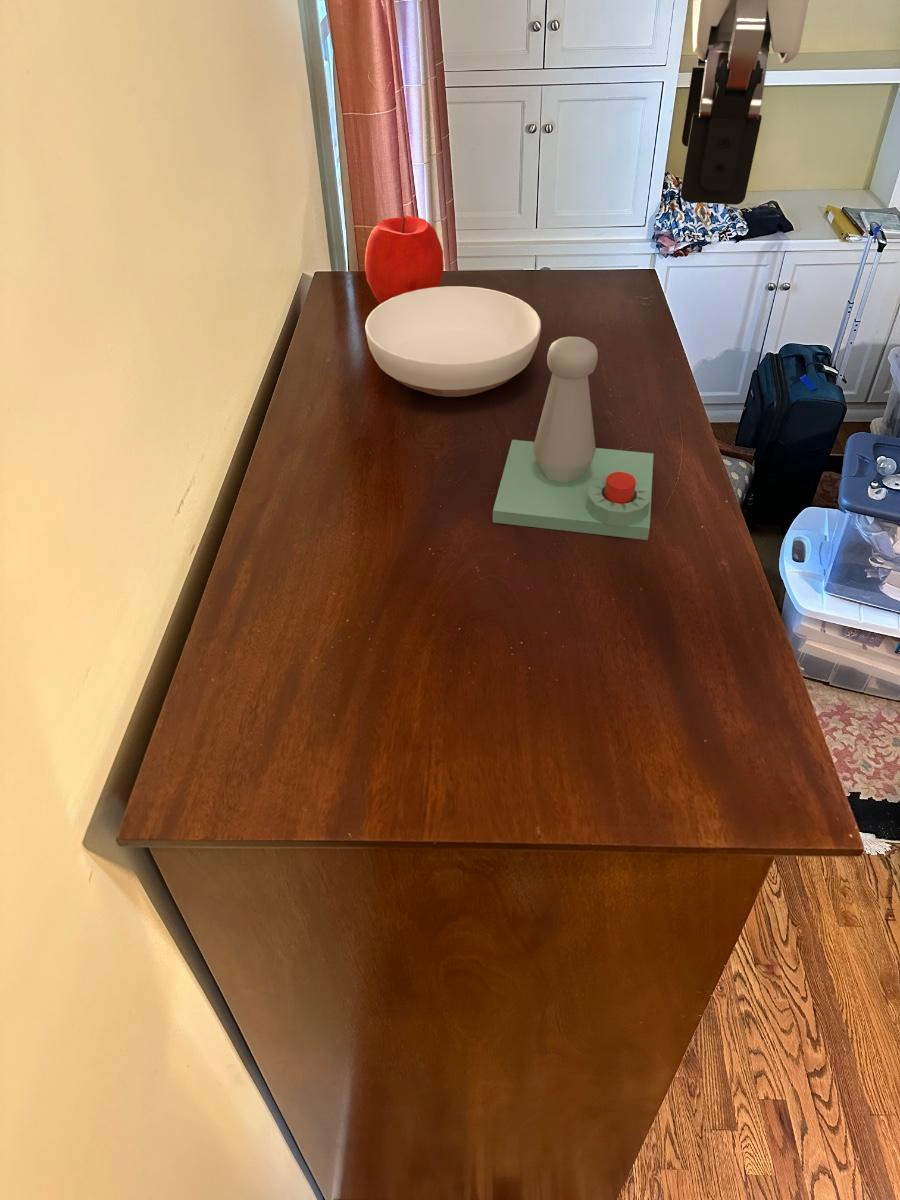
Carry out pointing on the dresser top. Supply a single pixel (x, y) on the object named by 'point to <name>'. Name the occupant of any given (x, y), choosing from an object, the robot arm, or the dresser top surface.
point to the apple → (403, 257)
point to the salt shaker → (567, 412)
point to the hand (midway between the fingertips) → (709, 171)
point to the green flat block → (575, 495)
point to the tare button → (620, 487)
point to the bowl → (453, 339)
